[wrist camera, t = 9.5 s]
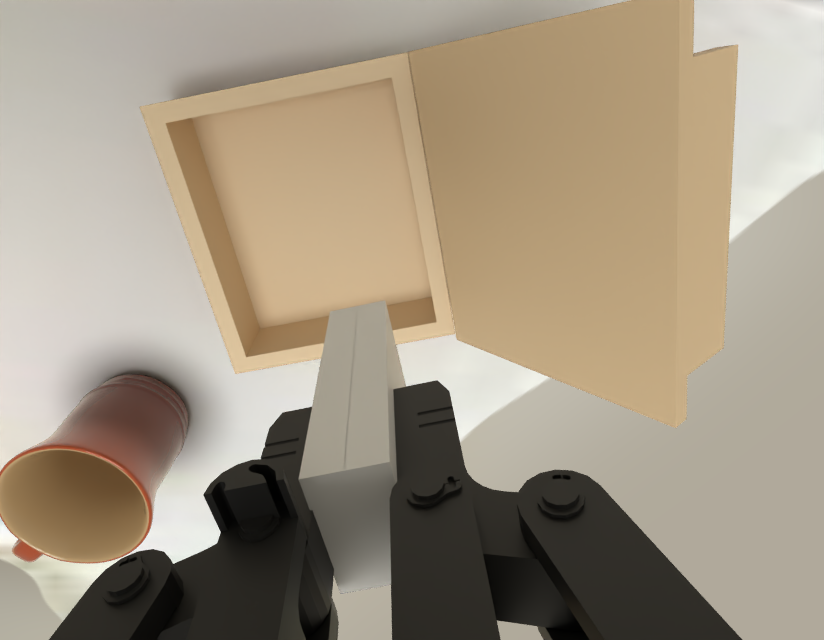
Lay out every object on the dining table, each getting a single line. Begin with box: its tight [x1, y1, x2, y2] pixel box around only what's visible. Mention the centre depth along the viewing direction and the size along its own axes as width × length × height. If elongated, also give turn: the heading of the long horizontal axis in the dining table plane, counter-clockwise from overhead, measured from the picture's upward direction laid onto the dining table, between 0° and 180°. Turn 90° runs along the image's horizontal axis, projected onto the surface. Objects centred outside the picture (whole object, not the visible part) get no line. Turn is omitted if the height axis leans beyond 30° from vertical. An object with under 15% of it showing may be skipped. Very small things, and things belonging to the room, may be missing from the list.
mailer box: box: [140, 52, 455, 374], centre depth 34 cm, size 16×14×5 cm
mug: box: [0, 374, 188, 563], centre depth 38 cm, size 12×9×10 cm
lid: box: [408, 0, 738, 428], centre depth 27 cm, size 16×14×4 cm
